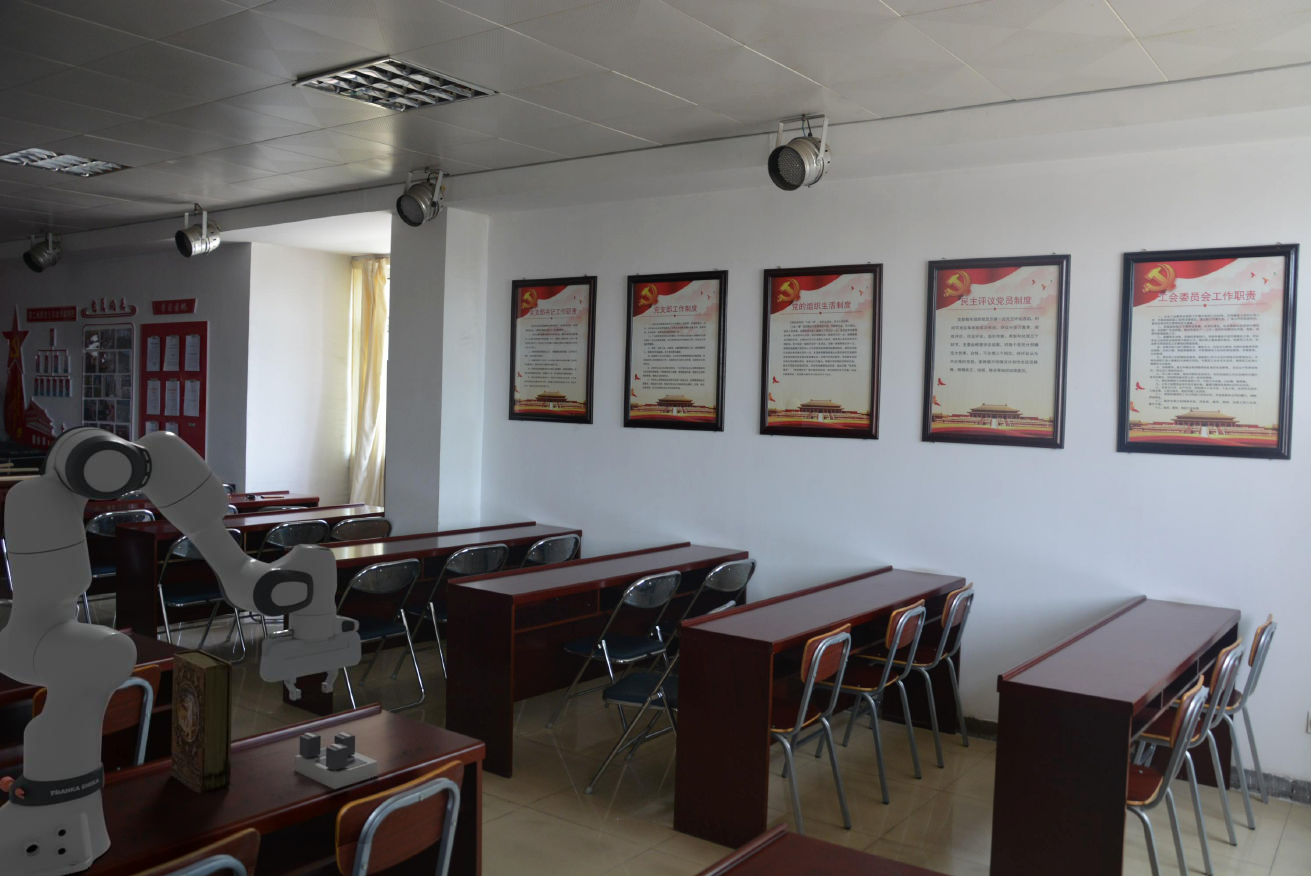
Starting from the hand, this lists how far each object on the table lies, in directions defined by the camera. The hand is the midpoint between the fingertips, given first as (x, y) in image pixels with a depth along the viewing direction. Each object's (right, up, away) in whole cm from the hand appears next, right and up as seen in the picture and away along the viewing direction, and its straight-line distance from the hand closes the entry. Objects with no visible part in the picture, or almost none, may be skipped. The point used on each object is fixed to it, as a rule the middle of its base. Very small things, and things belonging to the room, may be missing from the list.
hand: (311, 695), depth 188 cm
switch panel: (+1, -19, +10) cm, 22 cm away
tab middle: (+3, -16, +12) cm, 20 cm away
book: (-24, -19, +4) cm, 31 cm away
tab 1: (-4, -16, +11) cm, 20 cm away
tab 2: (+3, -16, +5) cm, 17 cm away
